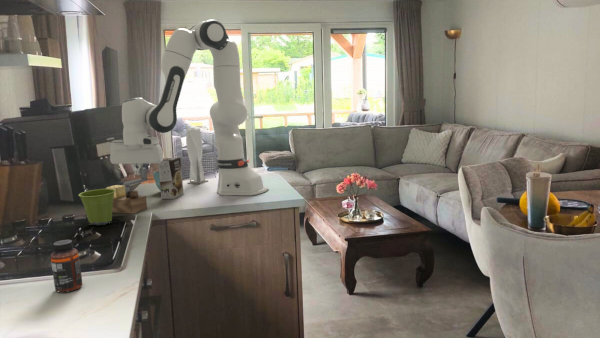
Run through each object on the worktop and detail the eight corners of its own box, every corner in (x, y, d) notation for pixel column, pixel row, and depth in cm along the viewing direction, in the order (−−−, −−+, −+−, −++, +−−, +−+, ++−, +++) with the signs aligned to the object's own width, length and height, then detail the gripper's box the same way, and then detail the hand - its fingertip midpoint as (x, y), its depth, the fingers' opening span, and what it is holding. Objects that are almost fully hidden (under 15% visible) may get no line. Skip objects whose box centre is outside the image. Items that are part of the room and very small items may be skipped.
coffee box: (175, 198, 219) (171, 160, 216) (160, 198, 220) (157, 160, 217) (184, 194, 227) (181, 157, 225) (170, 194, 229) (167, 157, 226)
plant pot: (76, 225, 182) (72, 193, 181) (108, 218, 191) (104, 187, 189) (92, 230, 174) (88, 197, 173) (125, 222, 183) (121, 190, 181)
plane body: (147, 208, 203) (145, 189, 202) (132, 213, 196) (130, 193, 195) (118, 206, 210) (116, 187, 208) (102, 211, 203) (100, 192, 201)
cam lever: (128, 197, 200) (125, 172, 198) (124, 197, 200) (121, 172, 199) (148, 191, 209) (146, 167, 208) (145, 191, 210) (142, 167, 209)
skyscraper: (185, 183, 253) (179, 125, 248) (194, 180, 260) (190, 123, 255) (199, 184, 249) (194, 124, 245) (209, 180, 256) (204, 123, 252)
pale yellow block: (126, 195, 205) (125, 185, 204) (116, 198, 200) (115, 188, 200) (116, 195, 207) (115, 185, 206) (107, 197, 202) (105, 187, 202)
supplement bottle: (81, 281, 127) (75, 236, 126) (84, 289, 122) (78, 242, 120) (54, 287, 125) (48, 241, 123) (56, 295, 120) (49, 247, 118)
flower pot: (166, 193, 230) (165, 173, 229) (154, 192, 235) (152, 172, 234) (182, 190, 237) (180, 170, 235) (169, 188, 242) (168, 169, 241)
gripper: (105, 140, 204) (108, 176, 206) (157, 140, 202) (159, 175, 204) (112, 139, 210) (115, 173, 212) (163, 138, 208) (165, 173, 210)
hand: (137, 174), depth 208 cm, fingers closed
